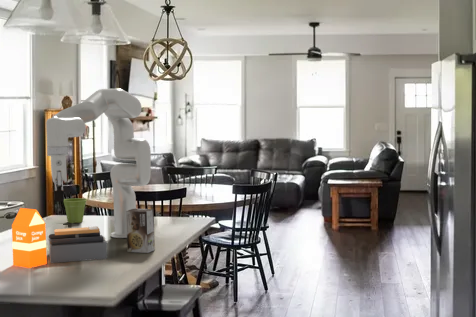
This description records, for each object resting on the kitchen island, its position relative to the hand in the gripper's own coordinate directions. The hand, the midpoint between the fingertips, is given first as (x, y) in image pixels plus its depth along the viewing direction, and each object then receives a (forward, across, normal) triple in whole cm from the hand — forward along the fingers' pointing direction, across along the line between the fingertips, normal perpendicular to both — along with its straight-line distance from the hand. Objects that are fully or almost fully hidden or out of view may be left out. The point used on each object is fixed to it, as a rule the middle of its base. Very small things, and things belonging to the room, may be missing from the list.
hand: (59, 201), depth 243 cm
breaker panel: (+21, 0, -6) cm, 22 cm away
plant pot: (+21, +83, -11) cm, 86 cm away
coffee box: (+21, +1, -30) cm, 37 cm away
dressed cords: (+15, 0, -5) cm, 16 cm away
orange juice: (+21, -8, +11) cm, 25 cm away
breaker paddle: (+12, 0, -6) cm, 14 cm away
